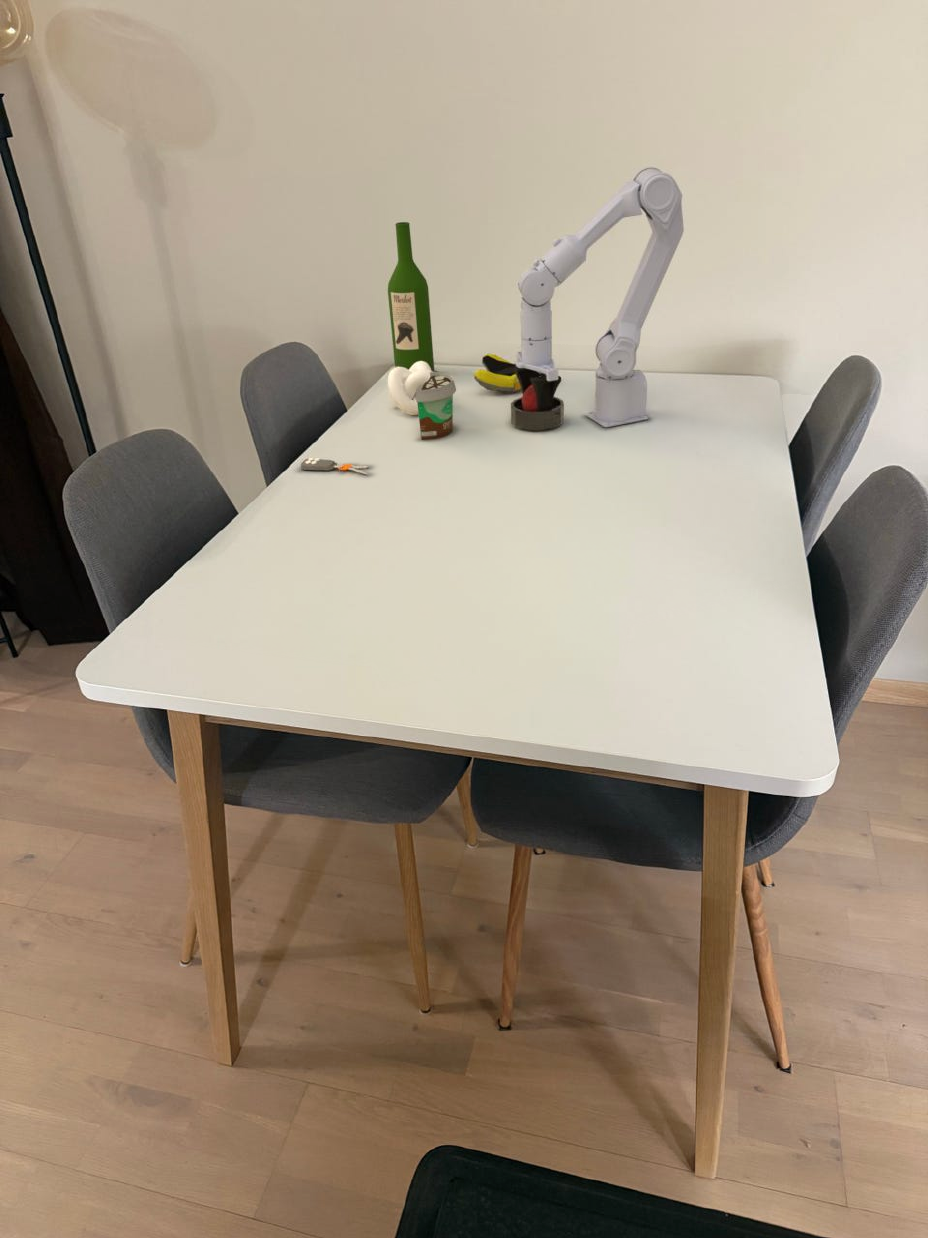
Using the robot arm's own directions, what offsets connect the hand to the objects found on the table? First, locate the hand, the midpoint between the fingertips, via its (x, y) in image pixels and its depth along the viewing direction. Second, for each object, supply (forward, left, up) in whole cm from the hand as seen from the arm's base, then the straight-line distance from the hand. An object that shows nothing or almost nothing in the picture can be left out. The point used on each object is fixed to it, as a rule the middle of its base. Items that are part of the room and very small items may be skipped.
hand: (537, 407), depth 175 cm
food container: (+18, -5, -3) cm, 19 cm away
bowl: (0, 0, -3) cm, 3 cm away
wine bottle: (+11, -43, -3) cm, 45 cm away
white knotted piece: (+18, -21, -3) cm, 28 cm away
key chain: (+41, +4, -3) cm, 42 cm away
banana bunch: (-3, -25, -3) cm, 25 cm away
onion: (0, 0, -3) cm, 3 cm away
